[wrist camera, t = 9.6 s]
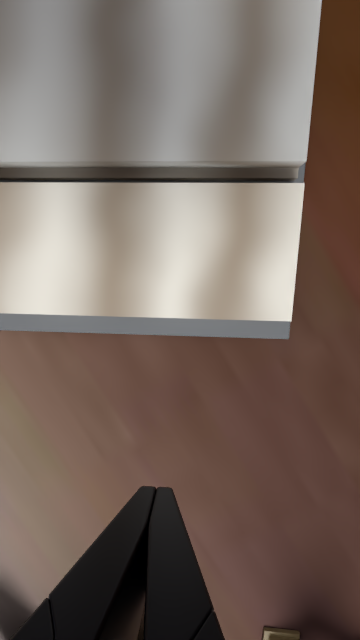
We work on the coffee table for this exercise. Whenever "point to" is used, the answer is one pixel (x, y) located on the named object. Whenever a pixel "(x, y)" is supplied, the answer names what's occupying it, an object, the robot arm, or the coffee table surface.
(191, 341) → the coffee table surface
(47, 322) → the underlay mat
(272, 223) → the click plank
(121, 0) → the plank
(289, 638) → the eiffel tower
